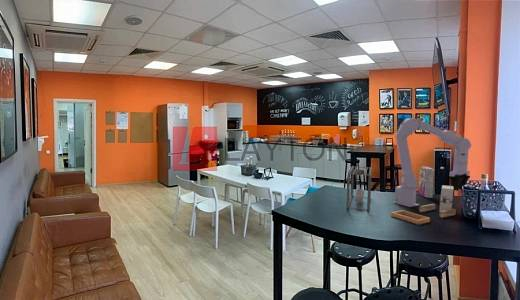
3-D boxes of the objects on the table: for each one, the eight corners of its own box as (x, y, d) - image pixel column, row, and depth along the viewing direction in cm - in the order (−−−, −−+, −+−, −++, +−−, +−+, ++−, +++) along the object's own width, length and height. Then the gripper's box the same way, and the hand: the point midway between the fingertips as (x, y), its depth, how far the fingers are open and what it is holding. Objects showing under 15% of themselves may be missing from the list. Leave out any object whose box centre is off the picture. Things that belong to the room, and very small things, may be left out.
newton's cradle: (369, 212, 145) (371, 174, 144) (346, 209, 149) (347, 173, 147) (370, 198, 173) (372, 166, 172) (350, 196, 177) (352, 165, 175)
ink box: (439, 208, 154) (441, 184, 153) (451, 210, 152) (453, 186, 151) (439, 212, 147) (440, 187, 146) (451, 214, 145) (453, 189, 144)
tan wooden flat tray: (391, 216, 139) (391, 212, 139) (402, 213, 143) (402, 210, 143) (418, 224, 128) (418, 220, 128) (429, 222, 132) (430, 217, 132)
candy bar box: (417, 193, 187) (419, 166, 186) (426, 193, 186) (428, 166, 185) (423, 197, 176) (425, 168, 175) (433, 198, 175) (435, 169, 174)
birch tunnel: (419, 211, 148) (419, 206, 148) (432, 208, 153) (433, 203, 153) (442, 217, 139) (442, 212, 138) (455, 214, 144) (456, 209, 144)
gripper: (461, 164, 145) (459, 192, 147) (477, 162, 153) (475, 190, 154) (445, 162, 151) (443, 189, 153) (462, 161, 159) (460, 187, 160)
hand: (458, 189), depth 154 cm, fingers open, 4 cm apart
